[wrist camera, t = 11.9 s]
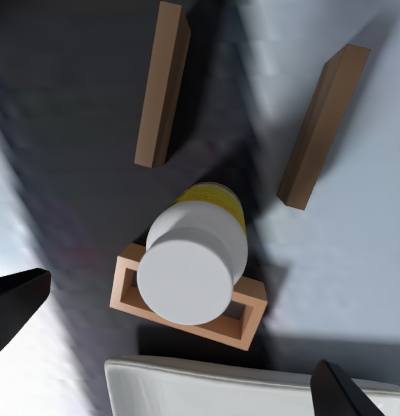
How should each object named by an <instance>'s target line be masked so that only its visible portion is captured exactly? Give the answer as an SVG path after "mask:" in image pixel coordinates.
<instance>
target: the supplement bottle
mask: <svg viewBox="0 0 400 416" xmlns="http://www.w3.org/2000/svg"><path fill="white" fill-rule="evenodd" d="M247 256H248V246H247V238H246V230H245V222H244V214H243V209H242V206H241V203H240V201H239V199H238V197H237V196H236V195H235V194H234V193H233V191H231V190H230V189H229V188H227V187H226V186H224V185H221V184H218V183H214V182H203V183H198V184H196V185H193V186H192V187H190V188H188V189H187V190H186V191H185V192H183V193H182V194H181V195H180V196H179V197H178V198H177V199H176V200H175V201H174V202H173V203H172V204H171V205H170V206H169V207H168V208H167V209H165V210H164V211H163V212H162V213H161V214H160V216H159V217H158V218H157V219H156V220H155V222H154V223H153V225H152V227H151V229H150V231H149V234H148V237H147V242H146V253H145V254H144V256H143V257H142V259H141V261H140V264H139V267H138V271H137V284H138V288H139V291H140V294H141V296H142V298H143V299H144V301H145V303H146V304H147V305H148V306H149V308H151V309H152V310H153V311H154V312H155V313H156V314H158V315H159V316H161V317H162V318H164V319H166V320H168V321H171V322H174V323H177V324H182V325H199V324H203V323H207V322H209V321H211V320H213V319H215V318H217V317H218V316H219V315H221V314H222V313H223V312H224V310H225V309H226V308H227V306H228V305H229V303H230V301H231V298H232V295H233V288H234V285H235V284H236V282H237V281H238V280H239V279H240V277H241V276H242V274H243V272H244V269H245V267H246V263H247Z"/></svg>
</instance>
